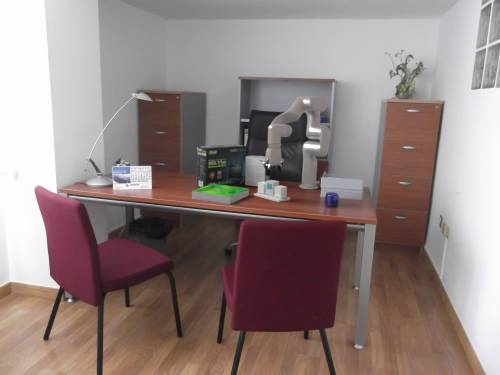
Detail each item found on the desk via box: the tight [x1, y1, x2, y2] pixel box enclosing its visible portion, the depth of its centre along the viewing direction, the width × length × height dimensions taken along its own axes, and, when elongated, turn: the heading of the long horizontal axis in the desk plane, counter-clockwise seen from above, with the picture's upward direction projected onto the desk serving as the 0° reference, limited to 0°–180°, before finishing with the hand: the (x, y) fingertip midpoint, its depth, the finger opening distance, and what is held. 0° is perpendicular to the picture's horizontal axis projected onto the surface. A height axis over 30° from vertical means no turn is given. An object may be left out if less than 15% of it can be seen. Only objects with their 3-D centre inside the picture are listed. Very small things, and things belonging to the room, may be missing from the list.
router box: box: [195, 144, 247, 188], centre depth 277 cm, size 36×11×27 cm, turn 134°
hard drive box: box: [244, 155, 270, 187], centre depth 280 cm, size 16×8×20 cm, turn 63°
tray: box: [191, 184, 250, 205], centre depth 244 cm, size 25×25×5 cm
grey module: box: [266, 179, 280, 196], centre depth 247 cm, size 5×6×8 cm
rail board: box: [253, 182, 291, 203], centre depth 247 cm, size 10×21×8 cm, turn 44°
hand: (273, 174), depth 245 cm, fingers open, 9 cm apart
